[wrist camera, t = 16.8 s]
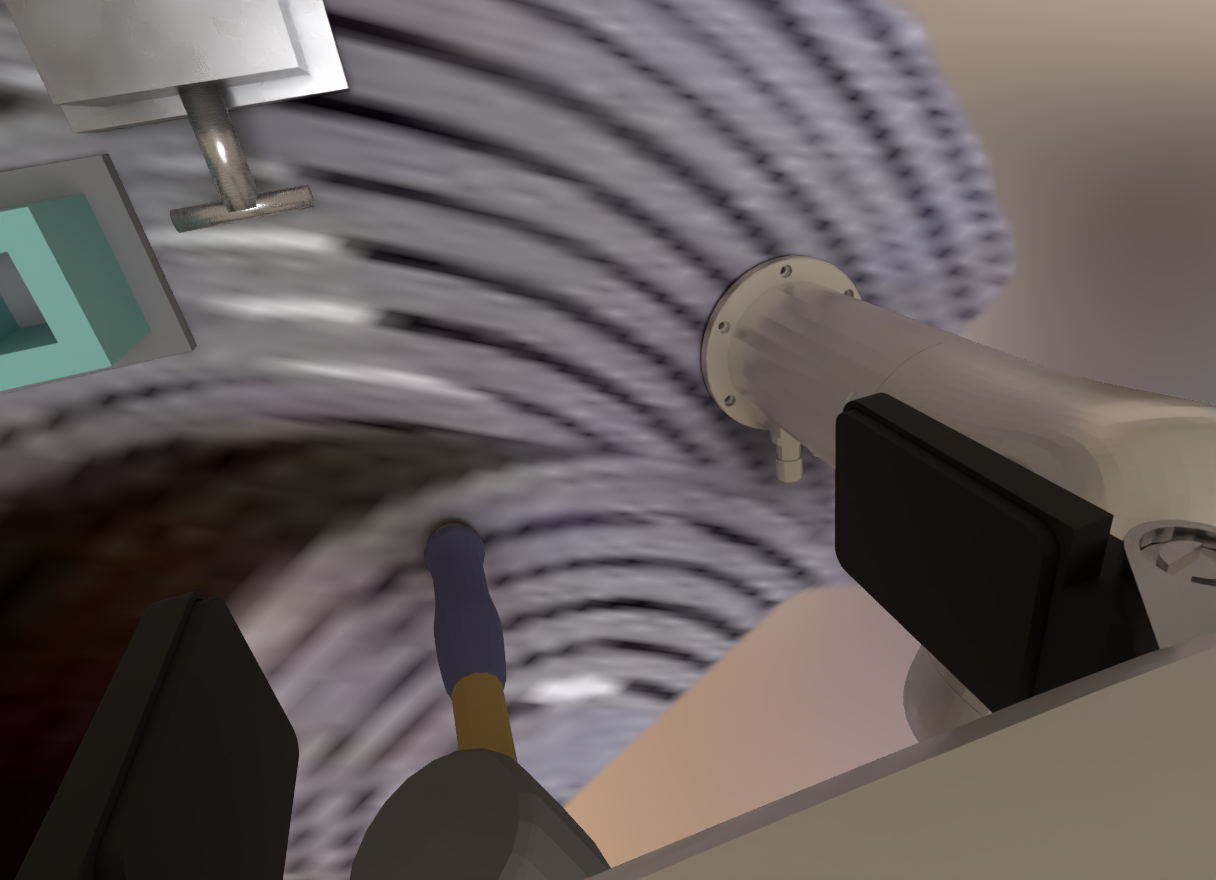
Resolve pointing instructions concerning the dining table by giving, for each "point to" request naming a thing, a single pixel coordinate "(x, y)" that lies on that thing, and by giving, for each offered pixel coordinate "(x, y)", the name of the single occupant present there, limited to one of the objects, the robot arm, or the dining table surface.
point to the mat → (124, 241)
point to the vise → (185, 76)
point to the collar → (64, 294)
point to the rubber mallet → (473, 760)
